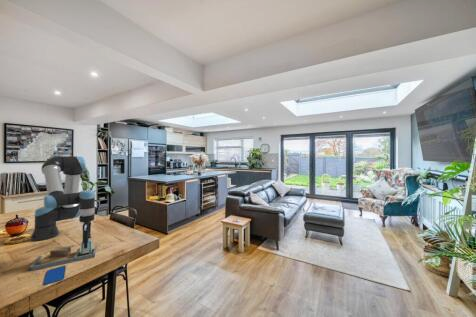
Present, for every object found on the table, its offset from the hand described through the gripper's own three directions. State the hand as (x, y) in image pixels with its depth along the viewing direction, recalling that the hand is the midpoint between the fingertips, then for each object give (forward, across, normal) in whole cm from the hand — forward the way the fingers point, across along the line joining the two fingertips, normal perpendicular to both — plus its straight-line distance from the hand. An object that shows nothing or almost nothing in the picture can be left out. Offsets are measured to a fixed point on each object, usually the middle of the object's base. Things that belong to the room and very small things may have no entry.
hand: (86, 250), depth 119 cm
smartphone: (+2, +21, -10) cm, 23 cm away
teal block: (0, 0, 0) cm, 0 cm away
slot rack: (+1, +2, -9) cm, 9 cm away
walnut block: (0, -3, -14) cm, 15 cm away
